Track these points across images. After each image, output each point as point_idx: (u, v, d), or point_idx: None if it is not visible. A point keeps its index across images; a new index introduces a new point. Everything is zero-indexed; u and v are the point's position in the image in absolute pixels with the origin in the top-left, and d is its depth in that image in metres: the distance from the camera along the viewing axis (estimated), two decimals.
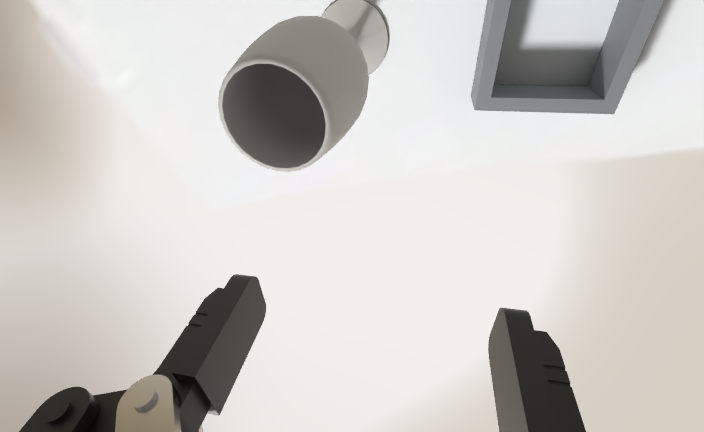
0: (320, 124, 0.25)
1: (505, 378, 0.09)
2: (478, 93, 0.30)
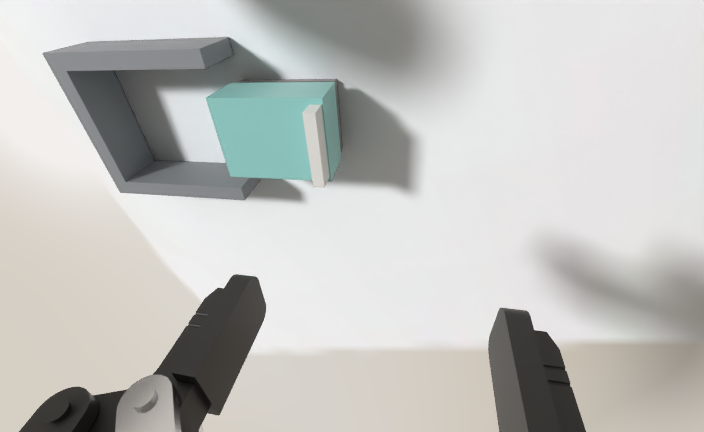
0: None
1: (505, 378, 0.09)
2: (61, 53, 0.23)
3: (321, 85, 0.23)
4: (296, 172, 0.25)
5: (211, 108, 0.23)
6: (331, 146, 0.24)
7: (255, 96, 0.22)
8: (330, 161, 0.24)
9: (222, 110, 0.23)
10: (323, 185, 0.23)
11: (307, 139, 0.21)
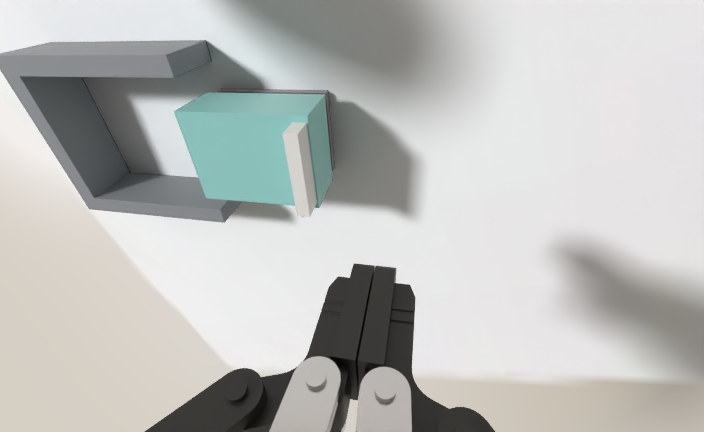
0: None
1: None
2: (12, 56, 0.20)
3: (308, 98, 0.20)
4: (279, 196, 0.22)
5: (181, 123, 0.20)
6: (319, 168, 0.21)
7: (231, 111, 0.19)
8: (318, 185, 0.21)
9: (194, 126, 0.20)
10: (308, 214, 0.20)
11: (289, 163, 0.18)
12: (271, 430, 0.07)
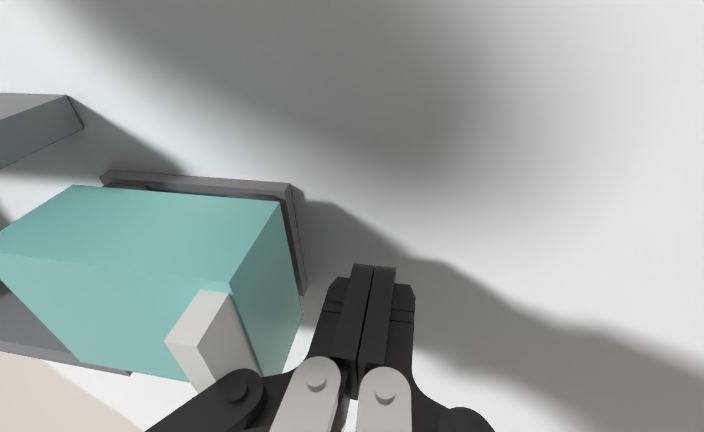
0: None
1: None
2: None
3: (246, 215, 0.10)
4: None
5: None
6: (270, 336, 0.11)
7: (80, 255, 0.09)
8: (268, 368, 0.11)
9: (17, 273, 0.10)
10: None
11: (191, 380, 0.08)
12: (271, 430, 0.07)
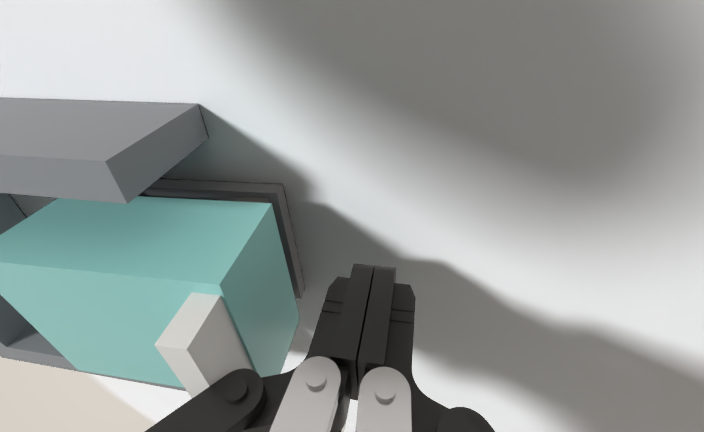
0: None
1: None
2: None
3: (238, 217, 0.10)
4: None
5: None
6: (266, 339, 0.11)
7: (72, 262, 0.09)
8: (264, 371, 0.11)
9: (10, 282, 0.10)
10: None
11: (185, 384, 0.08)
12: (271, 430, 0.07)
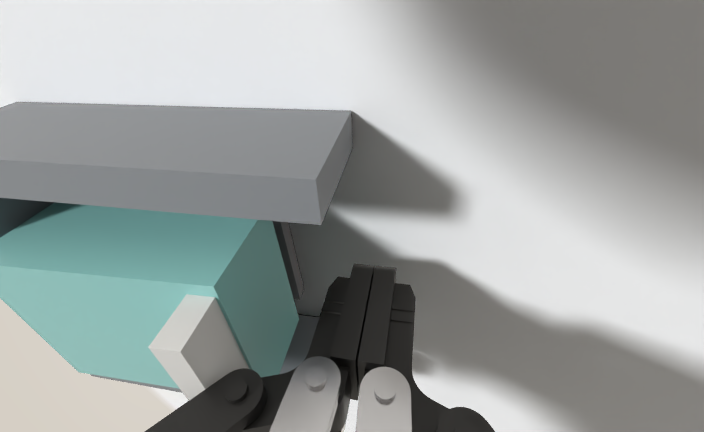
0: None
1: None
2: None
3: (234, 219, 0.10)
4: None
5: None
6: (264, 340, 0.11)
7: (68, 264, 0.09)
8: (262, 372, 0.11)
9: (9, 285, 0.10)
10: None
11: (180, 386, 0.08)
12: (271, 430, 0.07)
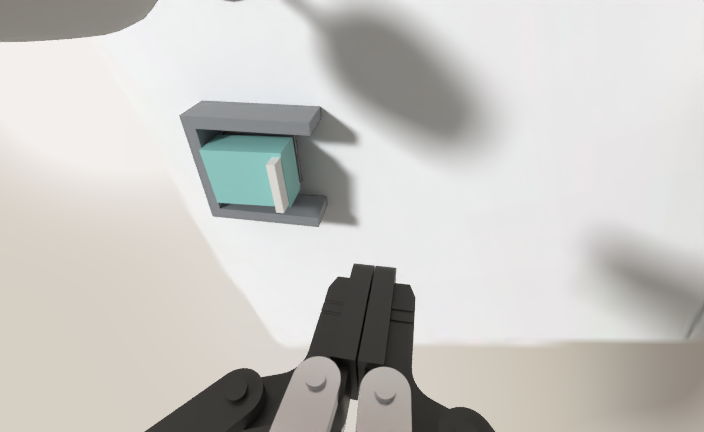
0: None
1: None
2: (195, 116, 0.31)
3: (282, 140, 0.32)
4: (265, 200, 0.34)
5: (203, 157, 0.32)
6: (290, 183, 0.33)
7: (234, 150, 0.31)
8: (289, 193, 0.33)
9: (211, 158, 0.32)
10: (283, 211, 0.32)
11: (270, 181, 0.31)
12: (271, 430, 0.07)
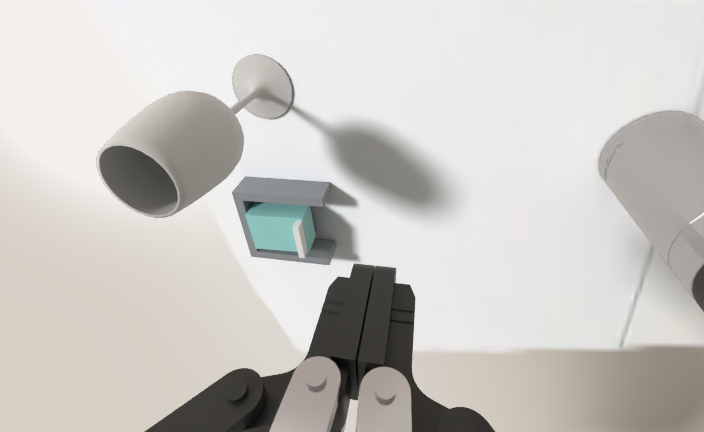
0: None
1: None
2: (243, 193, 0.44)
3: (302, 206, 0.46)
4: (290, 248, 0.47)
5: (247, 219, 0.45)
6: (308, 235, 0.46)
7: (269, 215, 0.44)
8: (308, 243, 0.46)
9: (253, 220, 0.45)
10: (304, 257, 0.45)
11: (295, 238, 0.44)
12: (271, 430, 0.07)
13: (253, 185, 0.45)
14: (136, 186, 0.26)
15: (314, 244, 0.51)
